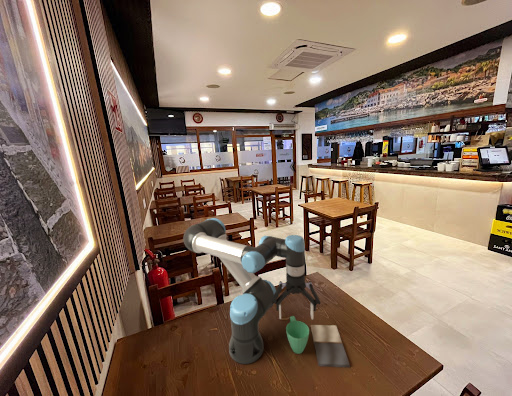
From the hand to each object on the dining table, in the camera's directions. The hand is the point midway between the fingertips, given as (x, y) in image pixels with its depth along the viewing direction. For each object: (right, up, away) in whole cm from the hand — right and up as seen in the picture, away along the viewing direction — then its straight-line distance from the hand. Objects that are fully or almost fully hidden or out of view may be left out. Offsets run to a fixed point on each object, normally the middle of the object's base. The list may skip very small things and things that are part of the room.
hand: (295, 316), depth 96 cm
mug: (+1, -14, +3) cm, 14 cm away
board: (+15, -13, +2) cm, 20 cm away
